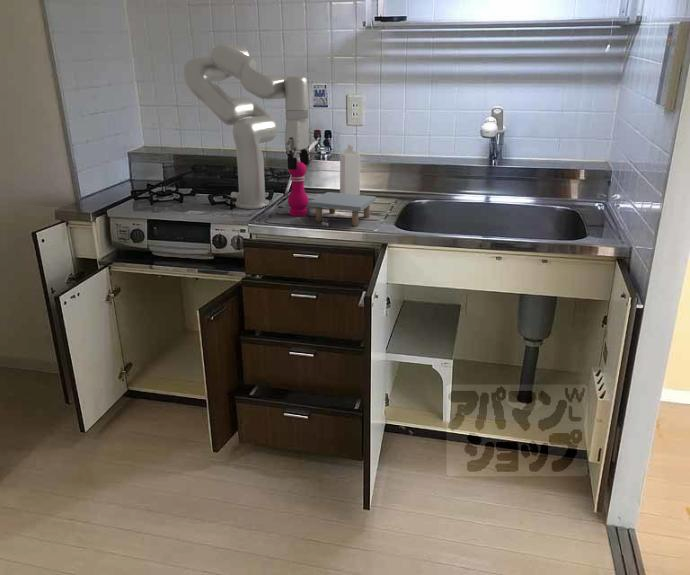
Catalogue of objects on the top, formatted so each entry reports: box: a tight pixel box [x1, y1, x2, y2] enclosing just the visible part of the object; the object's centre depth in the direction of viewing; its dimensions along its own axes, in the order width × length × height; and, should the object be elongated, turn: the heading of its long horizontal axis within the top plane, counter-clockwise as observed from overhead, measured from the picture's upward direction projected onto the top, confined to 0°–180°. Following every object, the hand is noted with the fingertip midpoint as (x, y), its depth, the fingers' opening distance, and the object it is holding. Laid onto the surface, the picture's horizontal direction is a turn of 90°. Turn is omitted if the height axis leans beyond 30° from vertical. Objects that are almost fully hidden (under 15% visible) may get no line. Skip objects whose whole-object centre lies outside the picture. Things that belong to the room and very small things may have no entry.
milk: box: [339, 143, 361, 195], centre depth 222 cm, size 6×6×22 cm
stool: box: [309, 191, 377, 227], centre depth 206 cm, size 18×16×7 cm
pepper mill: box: [287, 156, 309, 217], centre depth 209 cm, size 7×7×20 cm
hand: (298, 166), depth 207 cm, fingers open, 9 cm apart
